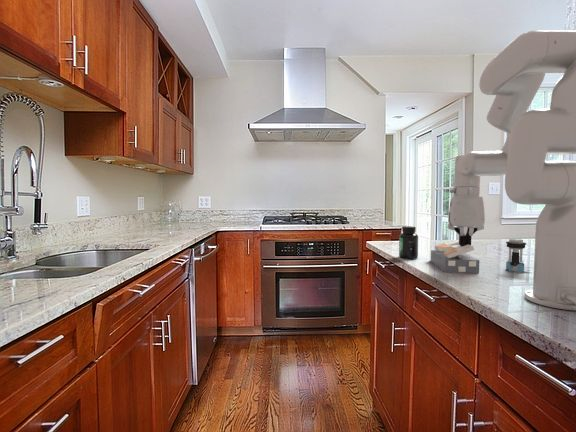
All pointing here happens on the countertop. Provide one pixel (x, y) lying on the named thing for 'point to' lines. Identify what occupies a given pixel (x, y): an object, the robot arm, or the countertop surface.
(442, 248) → the rocker
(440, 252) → the console
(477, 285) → the countertop surface
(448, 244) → the rocker
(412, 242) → the supplement bottle
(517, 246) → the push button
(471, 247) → the rocker
